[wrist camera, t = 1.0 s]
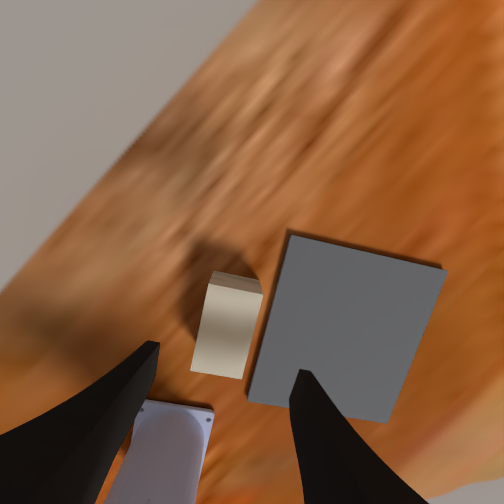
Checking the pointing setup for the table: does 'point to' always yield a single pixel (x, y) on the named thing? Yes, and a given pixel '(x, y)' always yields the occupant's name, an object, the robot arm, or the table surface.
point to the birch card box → (227, 325)
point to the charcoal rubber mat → (344, 326)
